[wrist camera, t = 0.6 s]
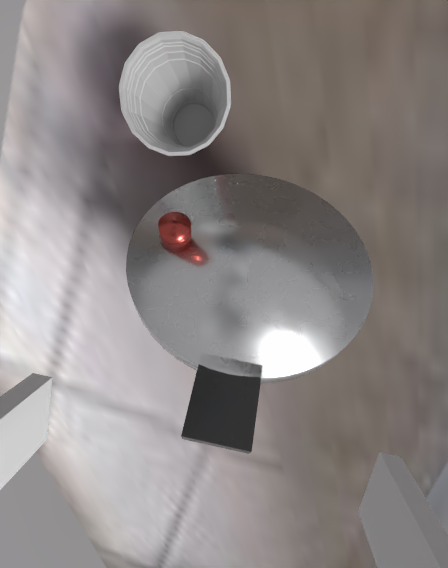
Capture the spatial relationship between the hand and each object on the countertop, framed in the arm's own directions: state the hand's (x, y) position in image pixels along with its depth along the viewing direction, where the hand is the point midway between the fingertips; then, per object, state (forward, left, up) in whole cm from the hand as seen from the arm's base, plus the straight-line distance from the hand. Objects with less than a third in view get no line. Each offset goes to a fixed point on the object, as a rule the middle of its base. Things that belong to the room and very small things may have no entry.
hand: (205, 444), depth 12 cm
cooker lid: (-3, +1, -14) cm, 15 cm away
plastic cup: (-18, -10, -35) cm, 40 cm away
